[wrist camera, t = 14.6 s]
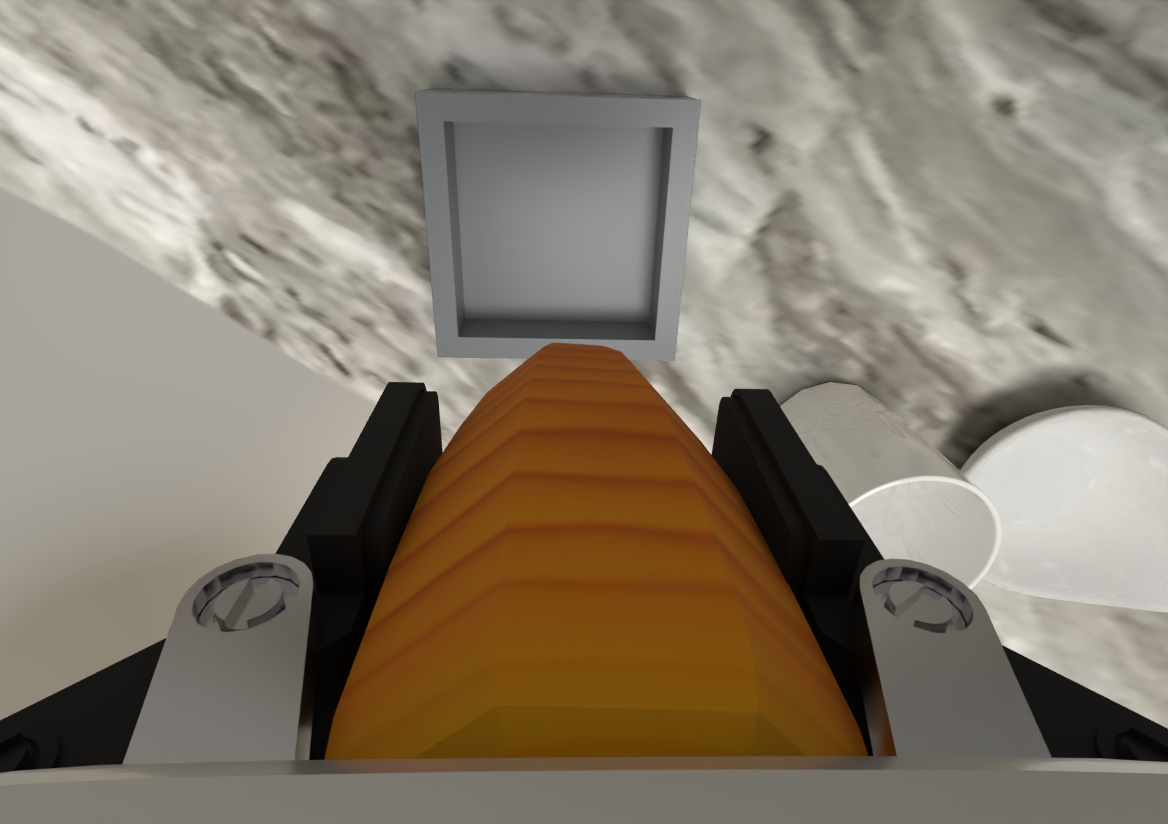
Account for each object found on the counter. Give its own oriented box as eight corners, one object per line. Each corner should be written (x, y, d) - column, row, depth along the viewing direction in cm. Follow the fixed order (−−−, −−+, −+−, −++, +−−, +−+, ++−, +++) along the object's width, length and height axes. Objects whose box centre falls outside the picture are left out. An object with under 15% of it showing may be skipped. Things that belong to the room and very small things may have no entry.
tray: (688, 96, 28) (701, 100, 25) (665, 336, 33) (674, 360, 30) (429, 89, 28) (415, 91, 25) (447, 333, 33) (437, 357, 30)
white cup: (729, 414, 35) (783, 530, 27) (868, 344, 34) (976, 444, 25) (783, 514, 39) (847, 647, 30) (912, 456, 37) (1021, 578, 28)
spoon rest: (881, 521, 39) (941, 609, 33) (999, 350, 34) (1096, 416, 28) (1187, 608, 44) (1293, 700, 37) (1333, 467, 38) (1485, 547, 32)
